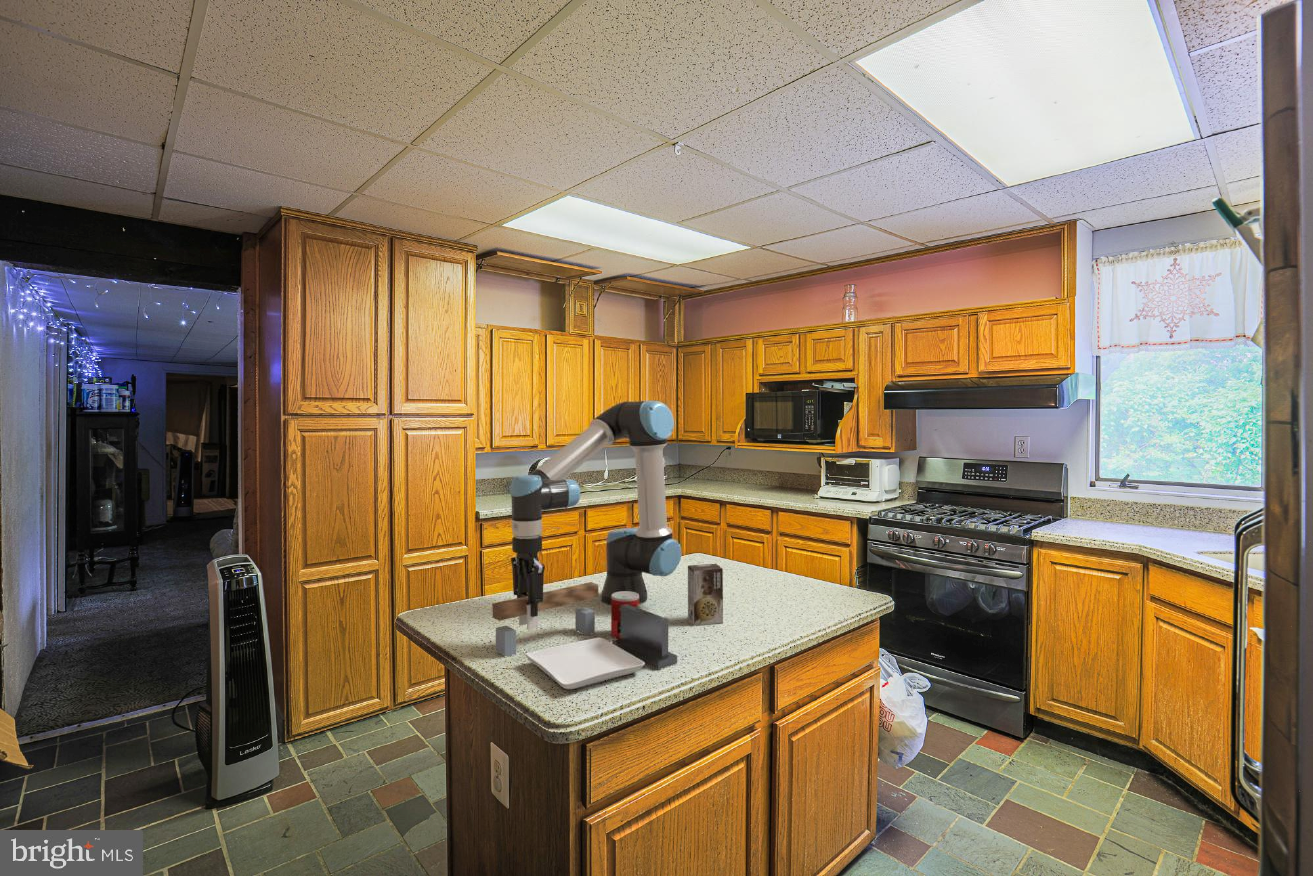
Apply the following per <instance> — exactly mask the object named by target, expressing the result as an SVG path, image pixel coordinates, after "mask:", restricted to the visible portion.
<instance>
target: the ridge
mask: <svg viewBox="0 0 1313 876" xmlns="http://www.w3.org/2000/svg"><path fill="white" fill-rule="evenodd" d="M611 643H612V644H614V645H616V646H617V647H619V648H621V649H623V650H624V651H626V652H628V653H629V654H631V655H633V656H635V657H636V658H638V659H640V660H642V661H643V662H644V663H645V664H644V665H646V664H648V665H647V666H649V665H650V666H649V667H651V666H652V667H651V668H653V667H654V668H653V669H655V668H657V669H660V670H662V669H661V668H663V669H665V667H666V668H668V667H667V666H669V667H670V666H671V665H672V666H674V665H677V664H678V655H676V653H673V652H670V651H669V618H667V617H663V616H662V615H658V614H656V613H653V612H650V611H648V610H644V609H643V608H640V607H639V608H637V607H634V606H631V605H628V604H625V605H621V639H617V638H616V639H614V640H612V641H611ZM676 663H677V664H676ZM673 664H674V665H673ZM657 669H656V670H657Z"/></svg>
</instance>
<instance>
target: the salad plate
mask: <svg viewBox="0 0 1313 876" xmlns="http://www.w3.org/2000/svg"><path fill="white" fill-rule="evenodd" d="M525 657H526V658H527V659H528V661H530V662H531V663H532V664H533V665H535V666H536V667H538V668H539V669H540V670H541V671H543V672H544V673H545V674H546V675H548V676H549V677H550V678H551V679H552V680H553V681H555V682H556V683H557V684H558V685H559V686H560V687H562V688H563V689H565V690H574V689H579V687H580V688H583V686H584V687H587V686H590V685H595V684H598V682H599V683H601V681H602V682H606V681H609V680H613V679H615V677H617V678H619V676H620V677H623V676H626V675H627V676H628V675H629V674H630V675H631V674H632V673H635V672H637V671H639V670H640V669H642V668H643V667H644V666H645V665H646V664H645V663H644V662H643V661H642V660H640V659H638V658H636V657H635V656H633V655H631V654H629V653H628V652H626V651H624V650H623V649H621V648H619V647H617V646H616V645H614V644H612V641H609V640H607V639H605V638H603V637H595V638H590V639H585V640H584V639H583V640H580V641H574V642H568V643H565V644H560V645H556V646H551V647H546V648H541V649H538V650H534V651H533V650H532V651H529V652H526V653H525ZM622 675H623V676H622ZM612 678H613V679H612ZM608 679H609V680H608ZM605 680H606V681H605ZM594 683H595V684H594ZM586 685H587V686H586Z"/></svg>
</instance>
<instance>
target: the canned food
mask: <svg viewBox="0 0 1313 876" xmlns="http://www.w3.org/2000/svg"><path fill="white" fill-rule="evenodd" d="M625 604H628V605H631V606H634V607H637V608H639V609H640V604H639V594H638V593H635V592H631V591H620V592H616V593H613V594H612V595H611V604H610V632H611V636H612V637H613V638H614V637H615V639H616V640H617V639H621V605H625Z"/></svg>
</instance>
